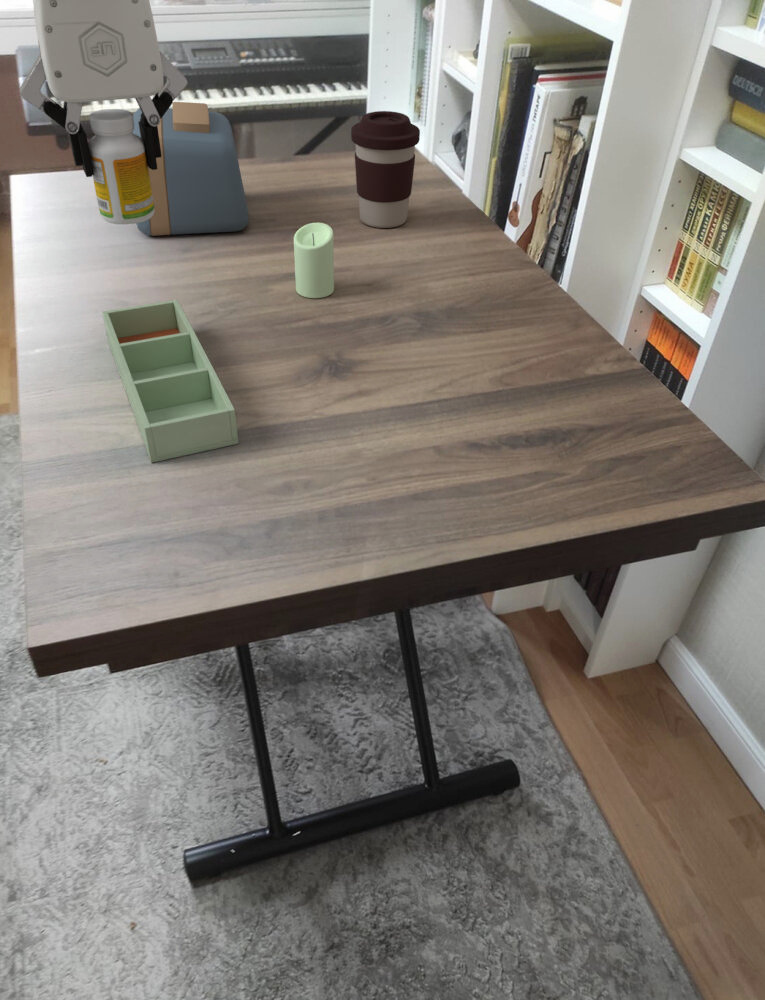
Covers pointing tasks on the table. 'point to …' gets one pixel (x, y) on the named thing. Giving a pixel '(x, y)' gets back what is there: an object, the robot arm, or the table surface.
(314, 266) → the candle
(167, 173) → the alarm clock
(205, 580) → the table surface
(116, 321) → the tray
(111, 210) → the supplement bottle
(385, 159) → the coffee cup
